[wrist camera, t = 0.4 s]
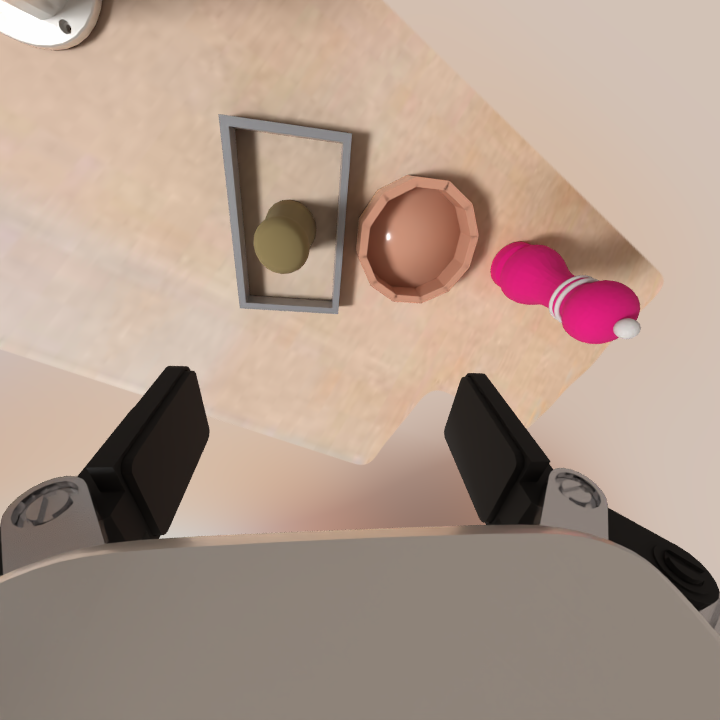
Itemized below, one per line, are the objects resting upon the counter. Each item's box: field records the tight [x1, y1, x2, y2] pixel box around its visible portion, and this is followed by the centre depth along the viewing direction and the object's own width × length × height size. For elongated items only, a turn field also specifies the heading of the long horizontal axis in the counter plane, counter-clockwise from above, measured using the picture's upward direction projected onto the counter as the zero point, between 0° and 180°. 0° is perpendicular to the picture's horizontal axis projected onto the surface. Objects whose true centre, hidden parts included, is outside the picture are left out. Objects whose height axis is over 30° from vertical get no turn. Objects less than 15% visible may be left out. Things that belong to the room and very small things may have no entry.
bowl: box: [356, 175, 479, 303], centre depth 37 cm, size 14×14×4 cm
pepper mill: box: [491, 242, 641, 344], centre depth 34 cm, size 7×7×20 cm
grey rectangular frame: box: [219, 114, 352, 314], centre depth 36 cm, size 13×20×2 cm, turn 174°
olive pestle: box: [253, 200, 316, 274], centre depth 32 cm, size 6×6×11 cm
